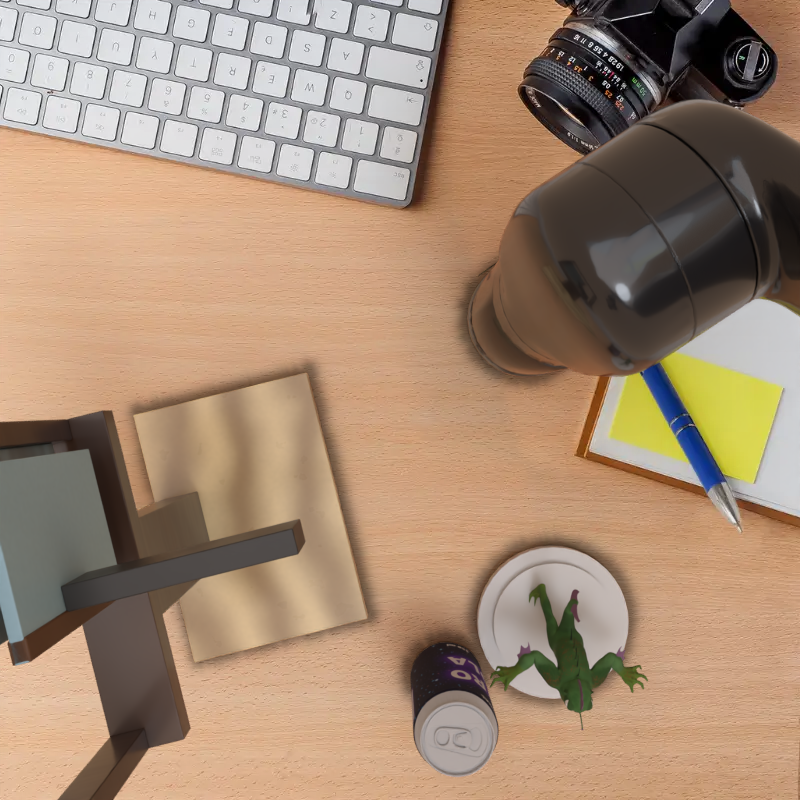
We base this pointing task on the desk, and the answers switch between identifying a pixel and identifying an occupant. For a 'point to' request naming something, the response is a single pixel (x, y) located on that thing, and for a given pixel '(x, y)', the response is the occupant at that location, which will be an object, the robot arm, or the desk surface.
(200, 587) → the light brown wooden board
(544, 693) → the monster figurine
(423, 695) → the beverage can
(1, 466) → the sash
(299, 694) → the desk surface
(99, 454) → the window frame
